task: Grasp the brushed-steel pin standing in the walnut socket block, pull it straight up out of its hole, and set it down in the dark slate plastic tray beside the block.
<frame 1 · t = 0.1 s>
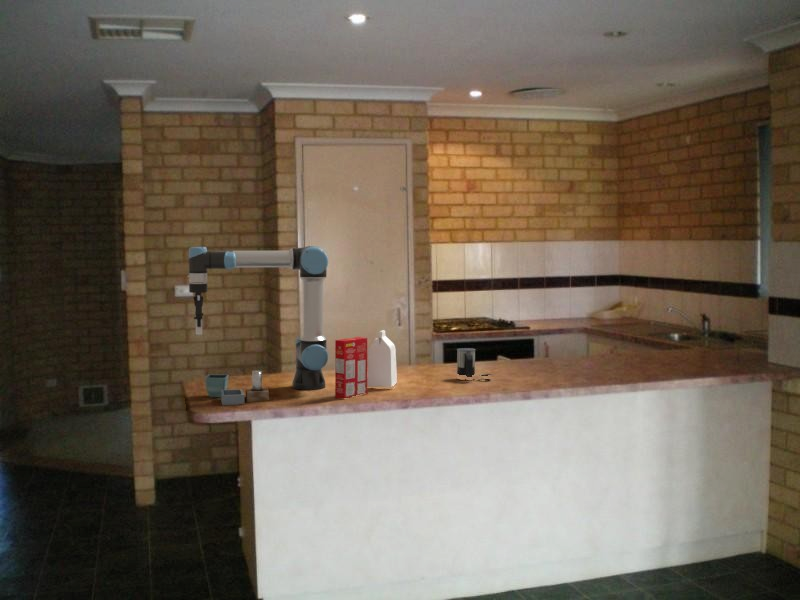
hand: (198, 332, 362), 28 cm above the countertop, fingers open, 13 cm apart
tray: (232, 401, 355), on the countertop
food packaging: (351, 396, 369), on the countertop
socket block: (257, 399, 361), on the countertop
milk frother: (474, 380, 412), on the countertop
flower pot: (217, 397, 366), on the countertop
steel pin: (257, 385, 360), in the socket block
milk: (382, 387, 391), on the countertop
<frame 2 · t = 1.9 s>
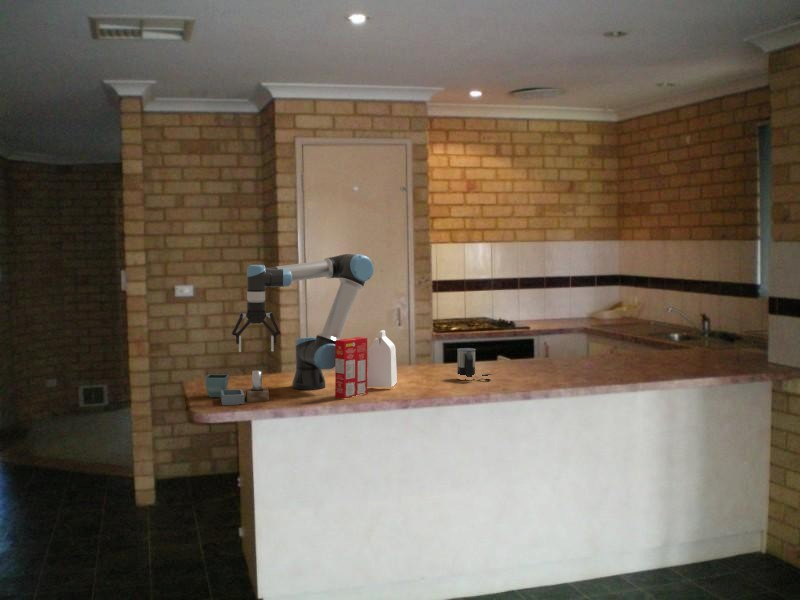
hand: (256, 351, 359), 21 cm above the countertop, fingers open, 13 cm apart
nothing on the countertop moved.
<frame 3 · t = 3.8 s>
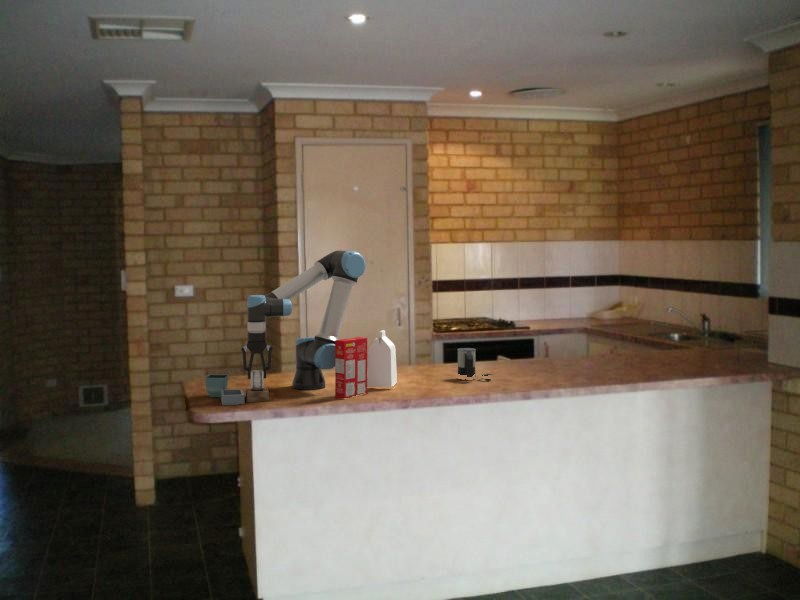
hand: (257, 386, 360), 6 cm above the countertop, fingers closed on steel pin, 4 cm apart
steel pin: (257, 385, 360), in the socket block, touching gripper
everything else where it was.
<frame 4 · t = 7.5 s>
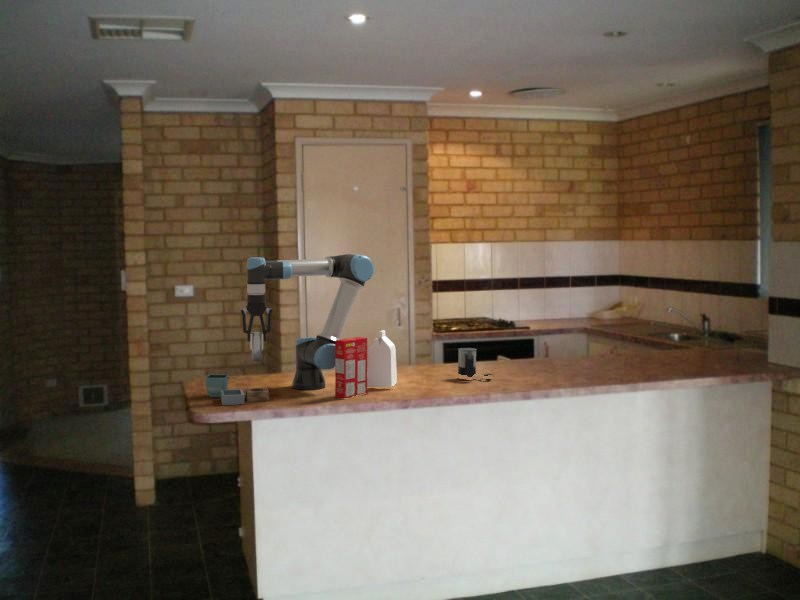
hand: (256, 348, 359), 22 cm above the countertop, fingers closed on steel pin, 4 cm apart
steel pin: (256, 346, 359), point 23 cm above the countertop, touching gripper
everything else where it was.
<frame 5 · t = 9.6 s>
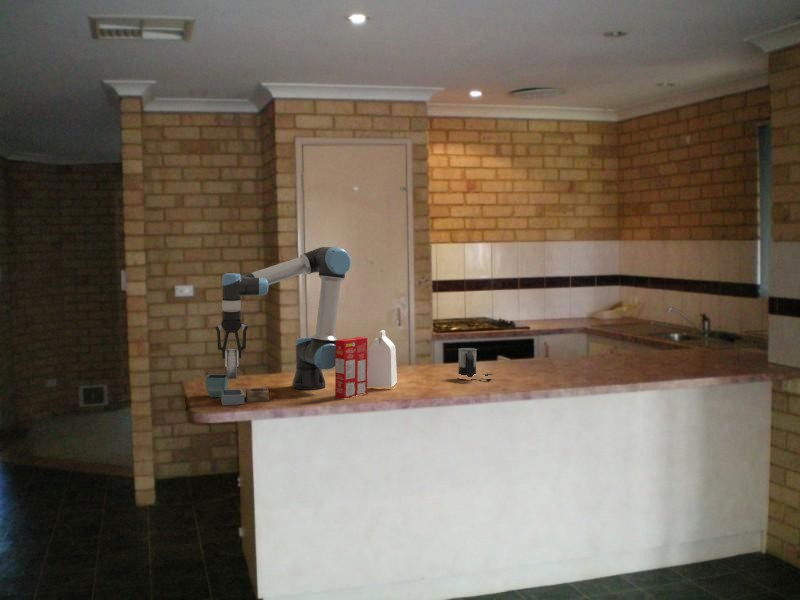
hand: (231, 366, 354), 15 cm above the countertop, fingers closed on steel pin, 4 cm apart
steel pin: (231, 363, 354), point 16 cm above the countertop, touching gripper
everything else where it was.
when the fingers open (8 cm above the countertop, at t = 11.5 s): steel pin drops 2 cm, resting on tray.
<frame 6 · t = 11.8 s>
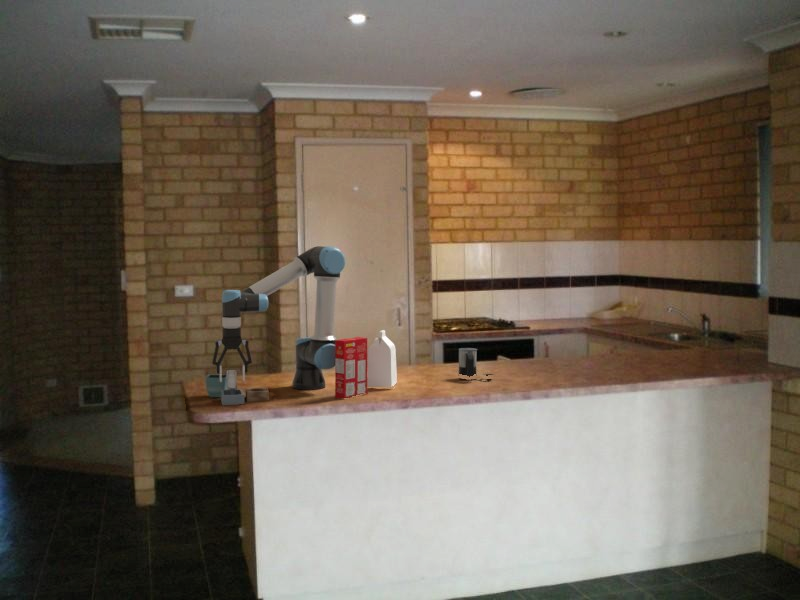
hand: (232, 380, 355), 9 cm above the countertop, fingers open, 9 cm apart
steel pin: (232, 385, 355), in the tray, point 7 cm above the countertop
everything else where it was.
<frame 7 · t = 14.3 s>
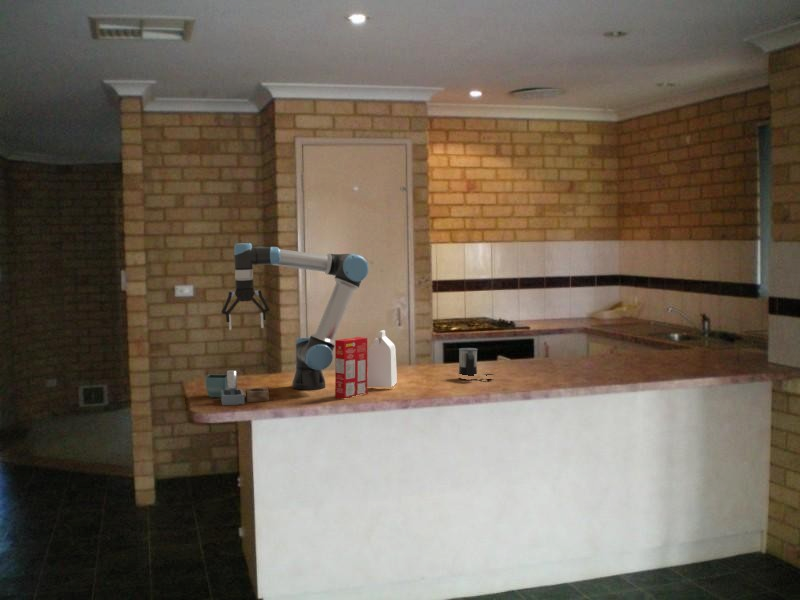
hand: (246, 328, 364), 30 cm above the countertop, fingers open, 13 cm apart
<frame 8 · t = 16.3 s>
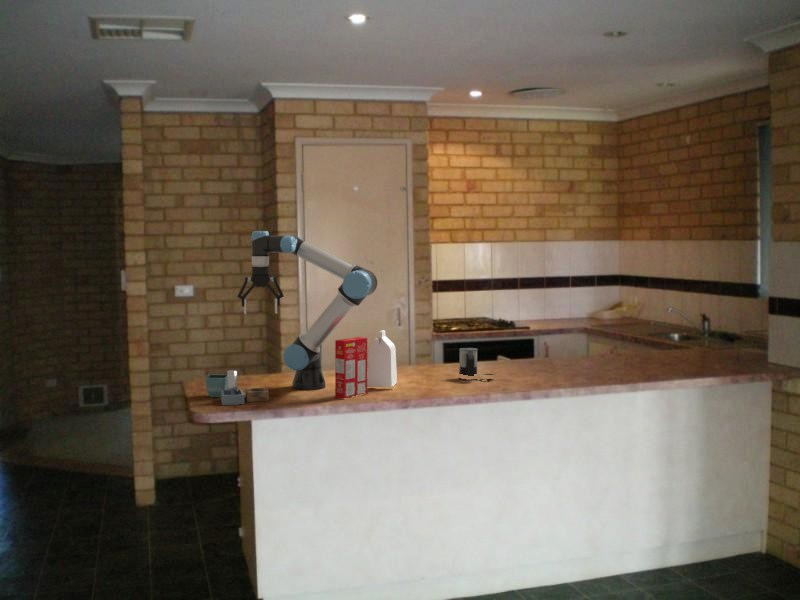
hand: (260, 313, 377), 35 cm above the countertop, fingers open, 13 cm apart
at the end: steel pin inside the target area on the tray (0.0 cm from its centre), point 7.0 cm above the tray's base; the gripper is holding nothing; steel pin touching tray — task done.
